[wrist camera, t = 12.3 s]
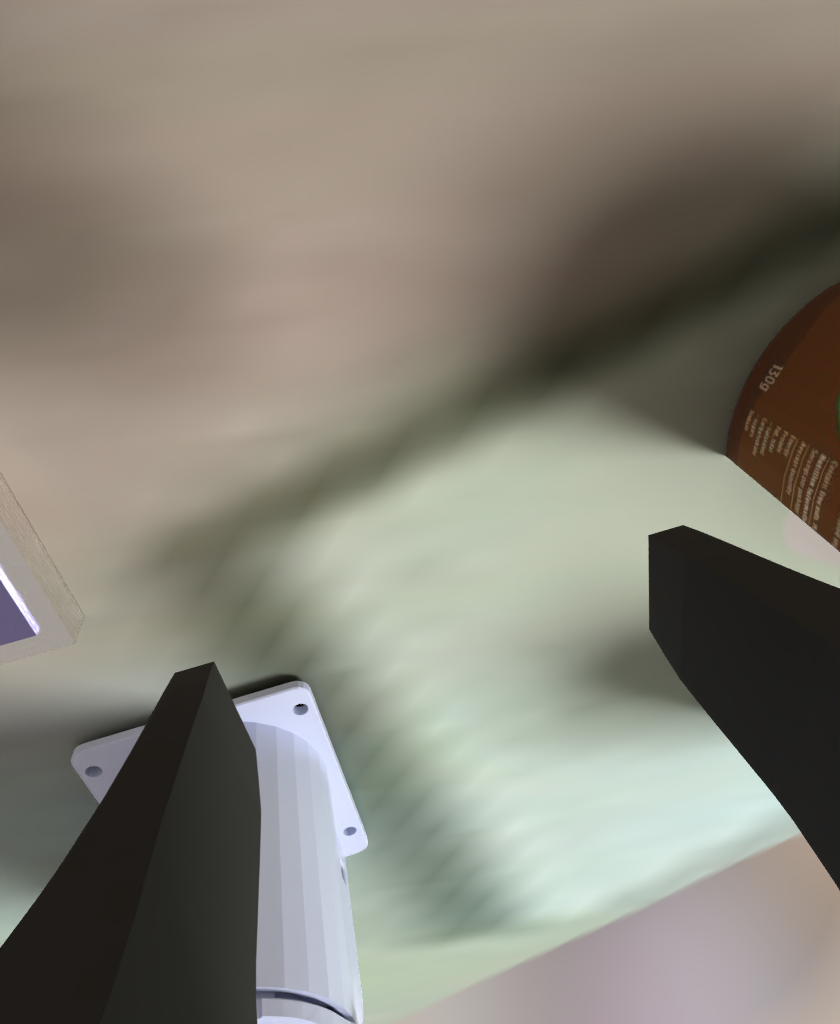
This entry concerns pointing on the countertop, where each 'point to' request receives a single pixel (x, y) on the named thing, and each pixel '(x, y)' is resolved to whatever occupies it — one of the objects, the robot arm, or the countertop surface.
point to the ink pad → (30, 590)
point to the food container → (796, 417)
